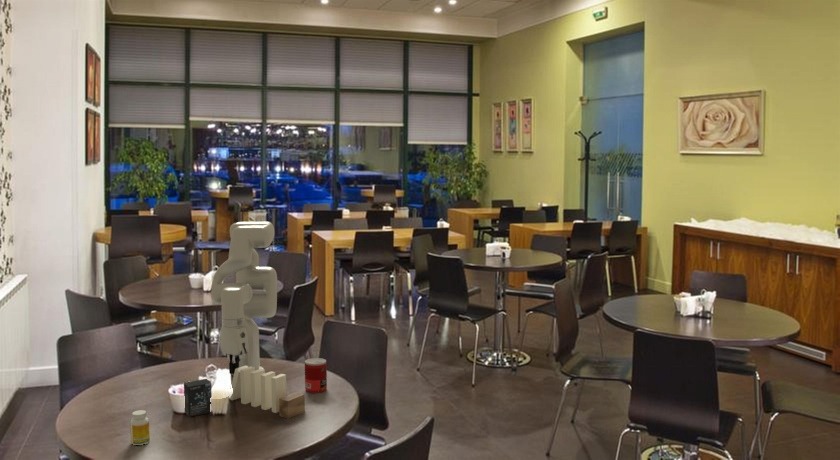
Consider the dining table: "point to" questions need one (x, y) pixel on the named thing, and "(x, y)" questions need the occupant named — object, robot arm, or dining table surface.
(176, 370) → the dining table surface
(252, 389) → the domino
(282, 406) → the end block
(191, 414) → the box
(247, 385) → the domino
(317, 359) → the canned food
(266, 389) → the domino
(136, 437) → the supplement bottle
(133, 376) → the dining table surface
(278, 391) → the domino
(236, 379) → the domino
